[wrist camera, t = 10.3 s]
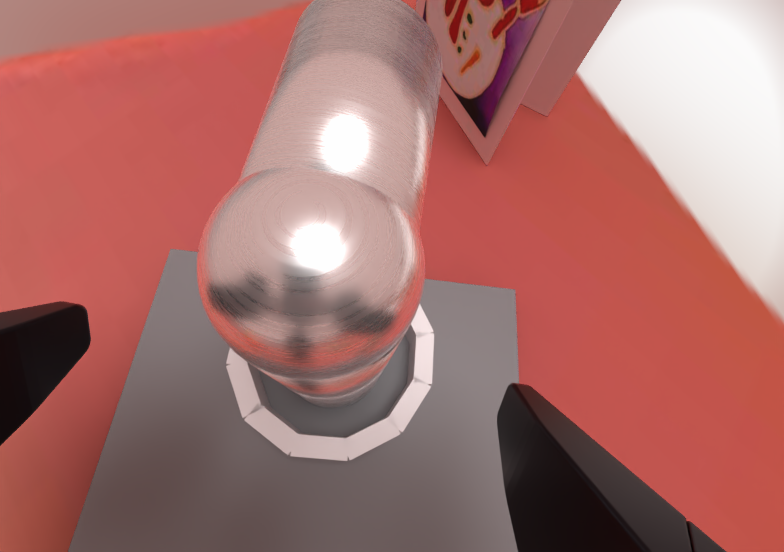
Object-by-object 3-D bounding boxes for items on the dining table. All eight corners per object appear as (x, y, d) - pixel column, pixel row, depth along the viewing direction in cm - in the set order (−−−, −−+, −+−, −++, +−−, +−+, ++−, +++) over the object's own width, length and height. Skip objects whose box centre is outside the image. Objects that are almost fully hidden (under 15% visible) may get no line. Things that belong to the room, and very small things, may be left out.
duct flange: (518, 763, 15) (566, 859, 11) (26, 747, 13) (-76, 847, 10) (504, 298, 22) (531, 275, 19) (182, 260, 21) (151, 229, 17)
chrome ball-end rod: (373, 416, 17) (432, 387, 5) (275, 399, 17) (93, 328, 5) (399, 255, 20) (475, -2, 8) (317, 239, 20) (268, -47, 8)
